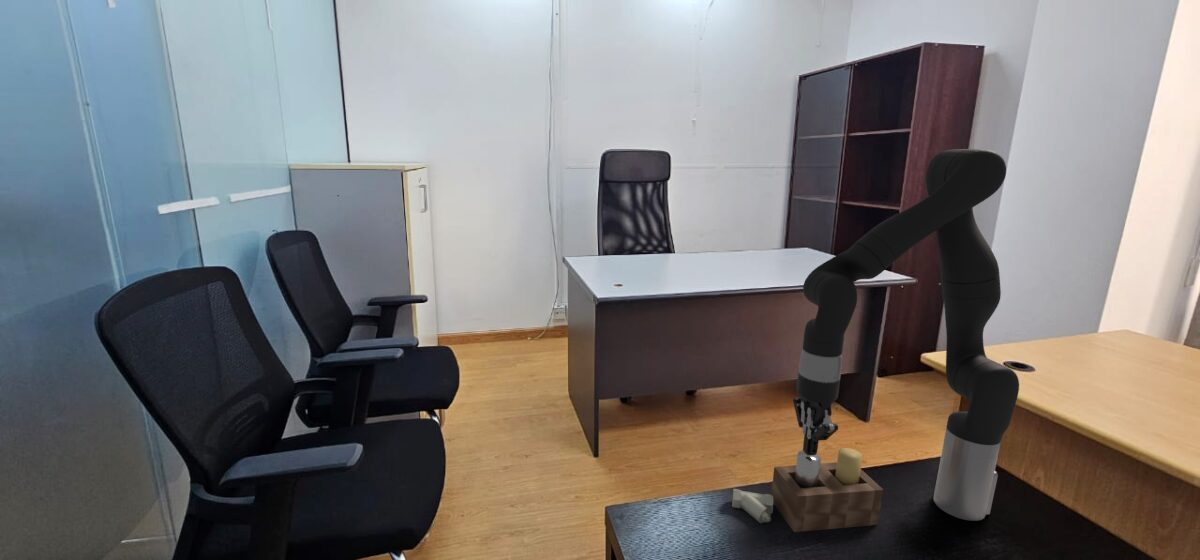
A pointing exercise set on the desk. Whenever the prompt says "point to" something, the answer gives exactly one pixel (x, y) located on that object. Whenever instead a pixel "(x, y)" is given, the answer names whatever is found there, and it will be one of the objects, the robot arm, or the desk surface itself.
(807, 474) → the steel peg
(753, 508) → the pipe fitting
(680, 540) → the desk surface
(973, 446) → the robot arm
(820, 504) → the socket block
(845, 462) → the mustard peg
